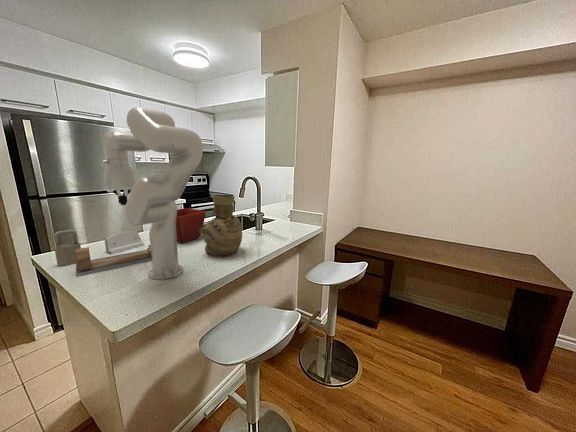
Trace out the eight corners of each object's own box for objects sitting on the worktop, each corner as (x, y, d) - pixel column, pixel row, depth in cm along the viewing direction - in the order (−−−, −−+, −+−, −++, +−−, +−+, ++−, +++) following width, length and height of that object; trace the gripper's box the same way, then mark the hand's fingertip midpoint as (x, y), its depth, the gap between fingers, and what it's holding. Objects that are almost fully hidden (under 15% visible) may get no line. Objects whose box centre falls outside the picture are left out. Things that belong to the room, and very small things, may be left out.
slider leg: (92, 268, 98) (89, 249, 97) (79, 270, 96) (76, 251, 94) (91, 261, 105) (88, 244, 103) (78, 264, 102) (76, 246, 100)
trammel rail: (161, 254, 115) (160, 248, 114) (79, 271, 96) (78, 263, 95) (156, 249, 122) (156, 243, 121) (79, 264, 102) (77, 257, 101)
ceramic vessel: (198, 249, 126) (194, 193, 120) (237, 245, 135) (236, 192, 129) (202, 263, 110) (198, 198, 104) (246, 256, 119) (246, 196, 113)
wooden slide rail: (164, 257, 115) (164, 255, 114) (76, 276, 94) (76, 273, 94) (157, 249, 125) (157, 247, 125) (76, 265, 104) (76, 262, 104)
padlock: (57, 264, 105) (50, 231, 102) (80, 259, 111) (75, 227, 108) (59, 267, 102) (53, 233, 99) (83, 261, 109) (78, 229, 106)
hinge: (111, 254, 117) (104, 235, 117) (106, 256, 120) (100, 236, 119) (145, 245, 132) (139, 228, 131) (140, 246, 134) (135, 229, 134)
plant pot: (179, 246, 131) (177, 216, 128) (159, 240, 141) (157, 212, 137) (207, 238, 147) (206, 211, 144) (187, 233, 157) (186, 207, 153)
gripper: (98, 162, 96) (104, 207, 100) (140, 163, 106) (144, 204, 110) (95, 162, 101) (101, 205, 105) (136, 163, 112) (140, 202, 115)
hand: (123, 204), depth 108 cm, fingers closed
